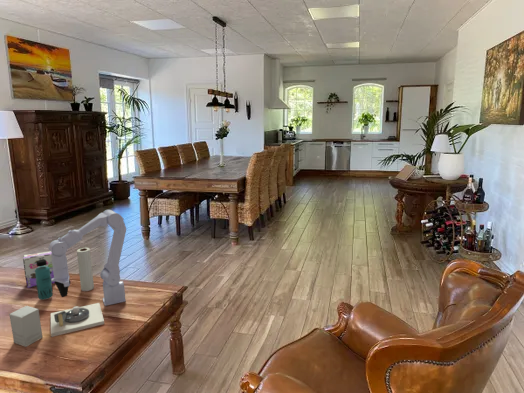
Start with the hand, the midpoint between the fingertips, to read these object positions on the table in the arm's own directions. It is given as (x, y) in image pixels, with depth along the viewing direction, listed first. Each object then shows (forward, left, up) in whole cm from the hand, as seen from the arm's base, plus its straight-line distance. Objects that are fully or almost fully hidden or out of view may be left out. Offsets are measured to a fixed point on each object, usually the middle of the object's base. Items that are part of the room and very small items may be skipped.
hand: (64, 296), depth 167 cm
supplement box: (+14, +14, -10) cm, 22 cm away
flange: (-2, +7, -7) cm, 11 cm away
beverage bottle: (+8, -21, -10) cm, 25 cm away
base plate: (-4, +7, -9) cm, 12 cm away
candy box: (+10, -42, -10) cm, 44 cm away
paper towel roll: (-11, -24, -10) cm, 28 cm away
